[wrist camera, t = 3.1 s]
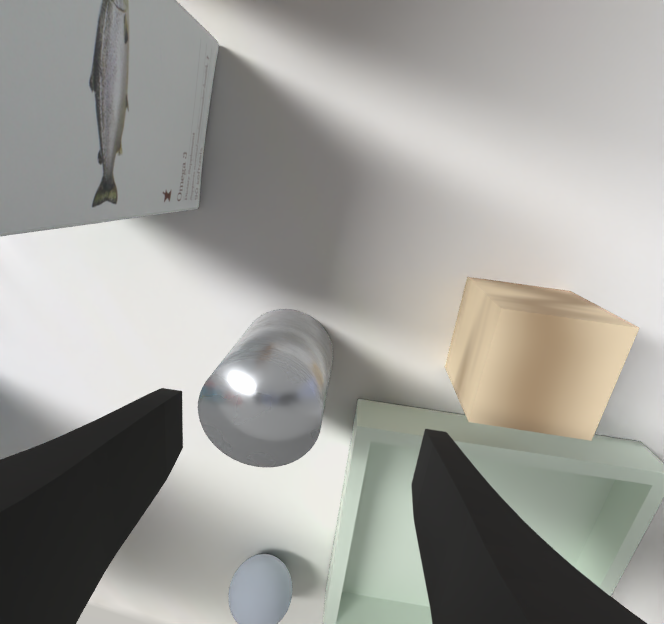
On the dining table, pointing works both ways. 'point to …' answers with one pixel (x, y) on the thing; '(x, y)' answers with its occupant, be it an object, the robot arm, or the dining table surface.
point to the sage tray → (506, 479)
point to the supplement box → (100, 111)
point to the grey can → (269, 390)
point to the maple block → (535, 358)
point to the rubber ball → (260, 591)
